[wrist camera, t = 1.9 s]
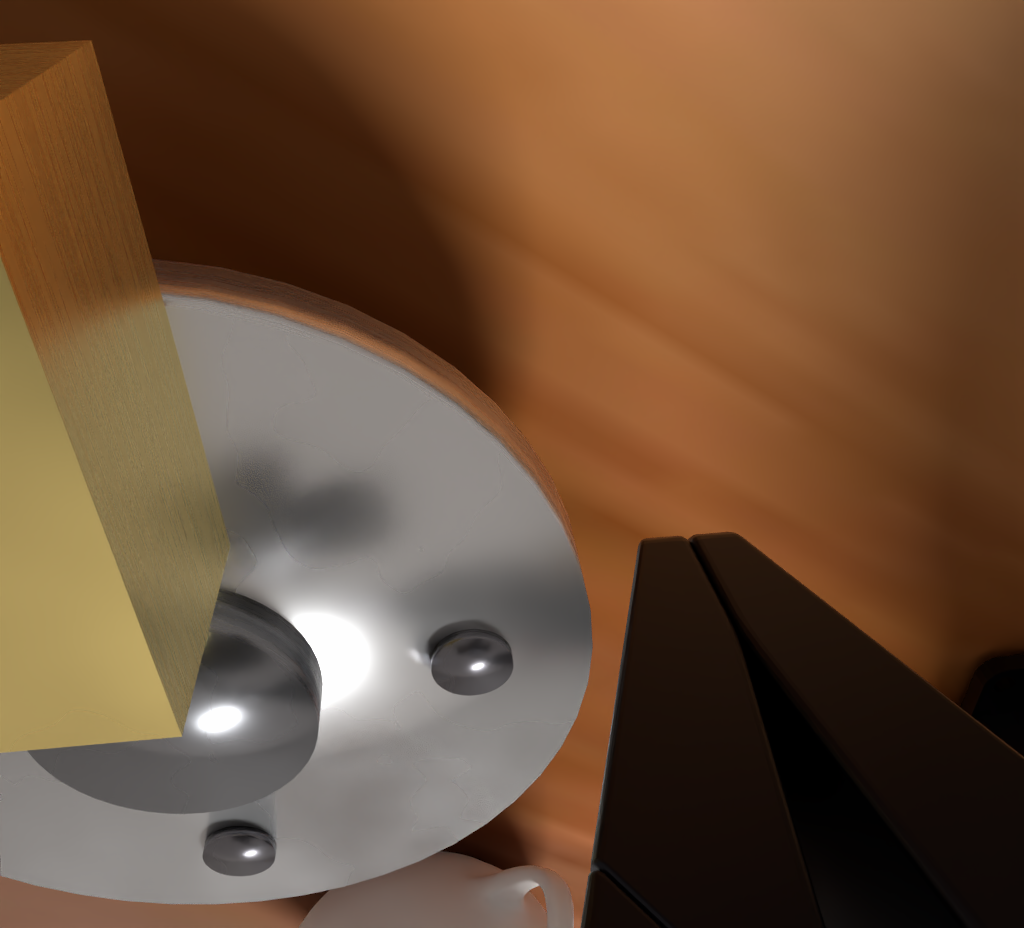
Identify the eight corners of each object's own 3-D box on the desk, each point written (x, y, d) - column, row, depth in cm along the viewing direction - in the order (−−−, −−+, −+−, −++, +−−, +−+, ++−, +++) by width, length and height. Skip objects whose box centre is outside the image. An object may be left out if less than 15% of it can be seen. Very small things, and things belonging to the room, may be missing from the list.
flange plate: (574, 811, 18) (612, 1045, 14) (-50, 872, 17) (-164, 1132, 14) (596, -3, 9) (702, 95, 6) (-638, 50, 9) (-1325, 196, 5)
